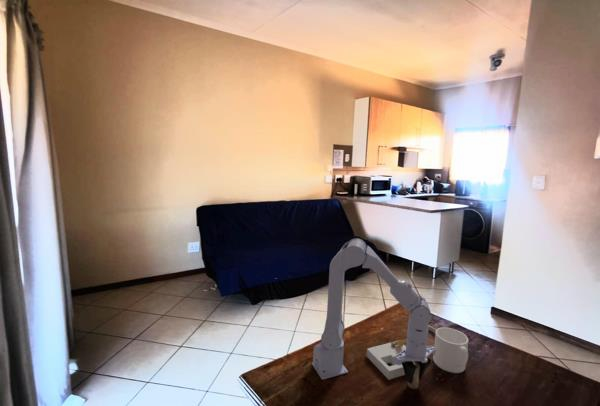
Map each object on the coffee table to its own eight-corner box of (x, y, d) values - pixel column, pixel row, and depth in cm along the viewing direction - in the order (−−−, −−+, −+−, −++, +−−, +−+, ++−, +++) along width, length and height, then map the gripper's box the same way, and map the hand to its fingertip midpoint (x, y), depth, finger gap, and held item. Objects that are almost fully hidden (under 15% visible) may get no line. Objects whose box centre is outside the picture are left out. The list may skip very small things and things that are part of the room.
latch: (409, 342, 99) (407, 338, 100) (395, 345, 105) (394, 341, 106) (413, 340, 100) (412, 337, 100) (400, 344, 106) (398, 340, 107)
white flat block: (388, 379, 93) (389, 367, 93) (366, 356, 104) (367, 345, 104) (422, 369, 98) (423, 357, 98) (398, 347, 109) (399, 337, 109)
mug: (427, 354, 106) (429, 328, 105) (452, 353, 107) (455, 326, 106) (449, 380, 94) (452, 350, 92) (477, 378, 95) (481, 348, 94)
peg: (412, 390, 89) (414, 369, 88) (405, 383, 92) (407, 362, 91) (420, 387, 90) (422, 366, 89) (413, 380, 93) (414, 360, 92)
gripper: (407, 352, 83) (403, 395, 84) (445, 341, 88) (441, 382, 90) (390, 337, 89) (387, 378, 91) (427, 328, 94) (423, 367, 96)
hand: (413, 379), depth 91 cm, fingers closed on peg, 3 cm apart
